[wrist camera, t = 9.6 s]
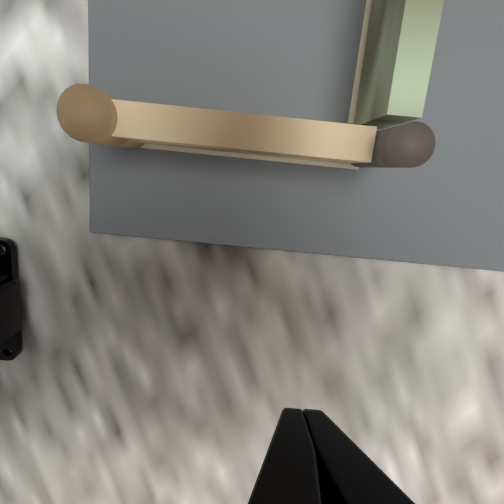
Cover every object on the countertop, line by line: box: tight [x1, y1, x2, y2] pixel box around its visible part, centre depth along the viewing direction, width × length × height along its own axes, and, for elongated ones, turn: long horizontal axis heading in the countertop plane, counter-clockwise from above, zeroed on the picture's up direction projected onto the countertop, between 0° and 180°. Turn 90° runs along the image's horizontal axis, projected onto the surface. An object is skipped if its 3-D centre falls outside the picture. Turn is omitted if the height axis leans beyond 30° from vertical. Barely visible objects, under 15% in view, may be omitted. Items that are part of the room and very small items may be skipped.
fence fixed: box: [57, 84, 436, 168], centre depth 14 cm, size 12×2×6 cm, turn 84°
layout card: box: [88, 0, 504, 271], centre depth 16 cm, size 25×19×1 cm
